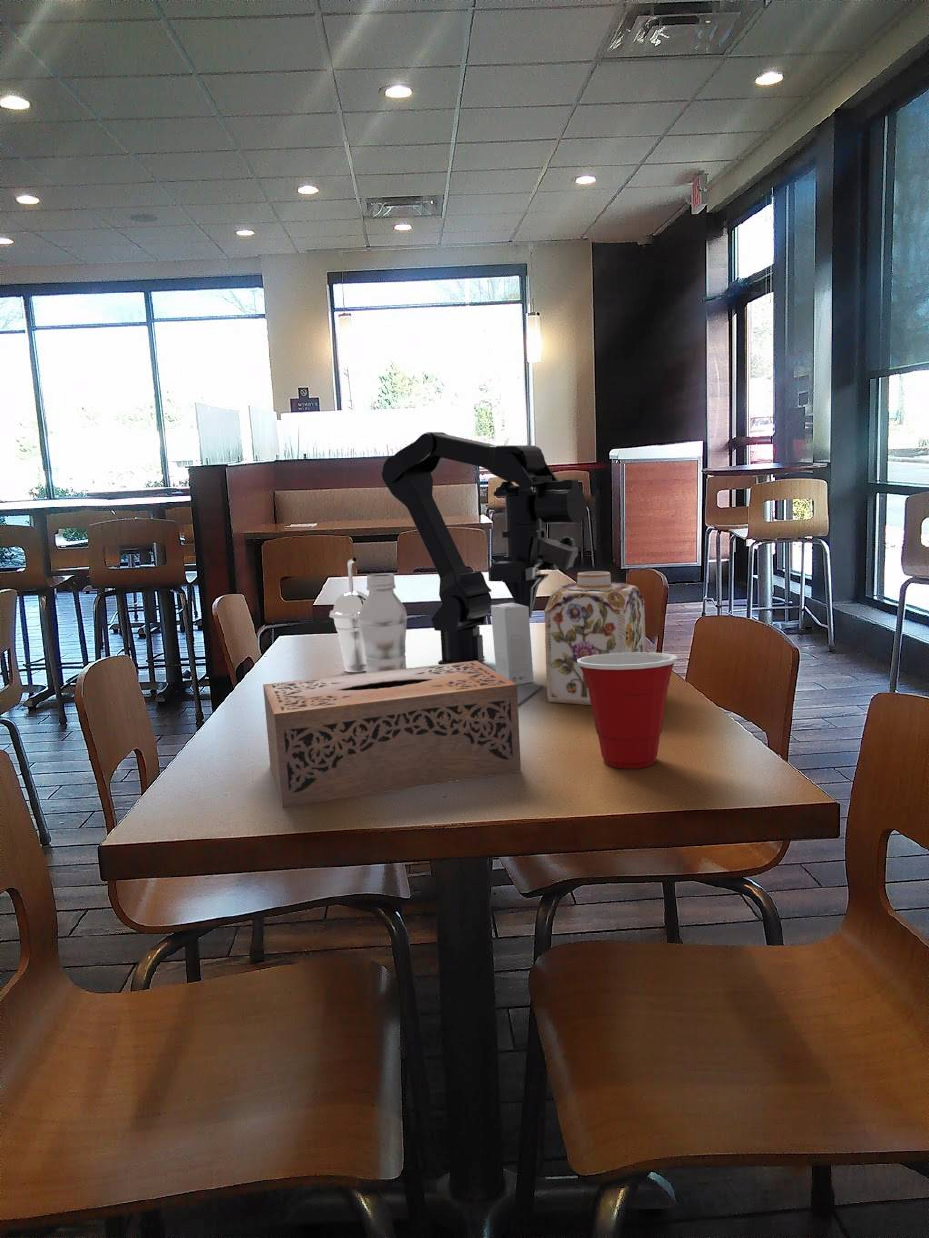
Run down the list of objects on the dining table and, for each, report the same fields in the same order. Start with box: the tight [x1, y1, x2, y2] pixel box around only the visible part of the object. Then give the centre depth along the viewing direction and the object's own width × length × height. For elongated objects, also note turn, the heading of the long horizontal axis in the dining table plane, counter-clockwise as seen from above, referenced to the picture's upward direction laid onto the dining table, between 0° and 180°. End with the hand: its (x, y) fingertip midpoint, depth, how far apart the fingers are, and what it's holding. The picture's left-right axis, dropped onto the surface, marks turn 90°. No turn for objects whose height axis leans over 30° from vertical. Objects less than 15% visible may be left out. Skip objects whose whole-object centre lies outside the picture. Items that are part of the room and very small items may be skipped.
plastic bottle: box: [359, 573, 408, 673], centre depth 118 cm, size 6×7×20 cm
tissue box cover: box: [262, 661, 522, 808], centre depth 100 cm, size 26×14×10 cm, turn 107°
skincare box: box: [490, 602, 534, 684], centre depth 140 cm, size 6×4×12 cm
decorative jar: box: [543, 570, 647, 706], centre depth 127 cm, size 12×12×18 cm
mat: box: [517, 683, 544, 707], centre depth 131 cm, size 12×14×1 cm
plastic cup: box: [577, 651, 678, 770], centre depth 98 cm, size 11×11×12 cm
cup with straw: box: [328, 557, 368, 673], centre depth 153 cm, size 8×9×20 cm
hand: (527, 618), depth 147 cm, fingers closed
